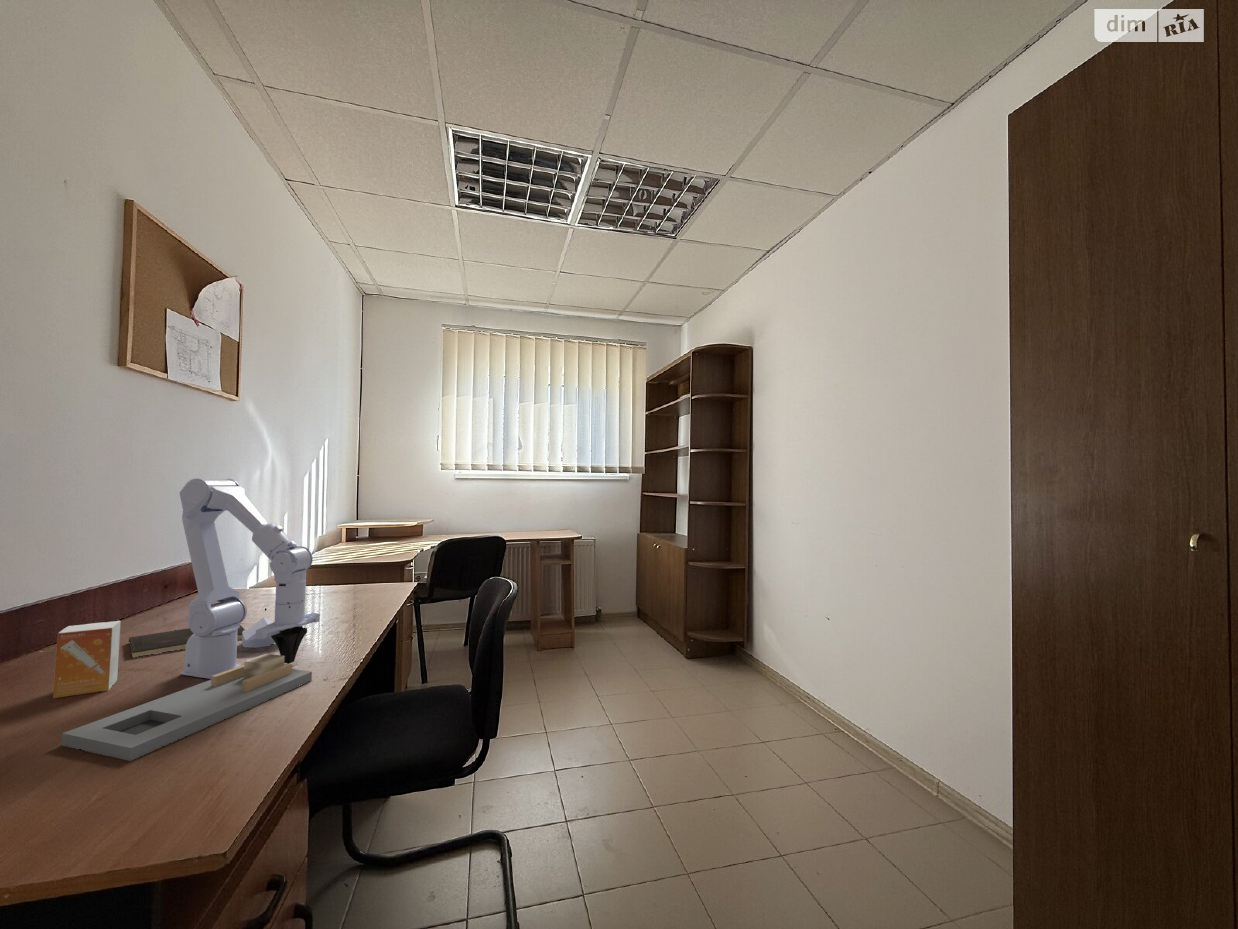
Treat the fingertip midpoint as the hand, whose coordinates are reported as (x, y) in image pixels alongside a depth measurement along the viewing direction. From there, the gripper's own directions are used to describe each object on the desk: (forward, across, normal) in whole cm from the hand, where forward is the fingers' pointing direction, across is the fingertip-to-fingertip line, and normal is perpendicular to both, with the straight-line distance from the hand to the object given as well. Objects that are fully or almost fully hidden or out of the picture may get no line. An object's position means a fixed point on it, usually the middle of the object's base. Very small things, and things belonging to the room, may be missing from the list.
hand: (288, 662), depth 113 cm
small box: (+3, -18, +32) cm, 37 cm away
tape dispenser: (+3, +15, +25) cm, 29 cm away
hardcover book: (+4, +11, +46) cm, 47 cm away
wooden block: (+1, -6, 0) cm, 6 cm away
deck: (+3, -18, 0) cm, 18 cm away
